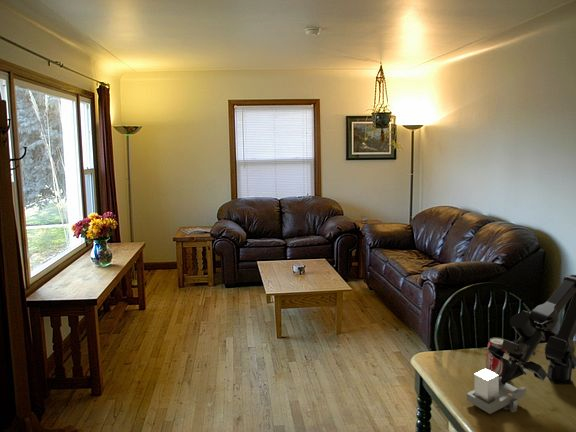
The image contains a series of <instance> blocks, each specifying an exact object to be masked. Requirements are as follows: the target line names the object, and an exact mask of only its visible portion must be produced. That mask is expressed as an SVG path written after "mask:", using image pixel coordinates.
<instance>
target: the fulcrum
mask: <svg viewBox="0 0 576 432" xmlns="http://www.w3.org/2000/svg"><path fill="white" fill-rule="evenodd" d="M518 400H519V399H512V400H511V403H510V404H508V405H506V406H504V407H502V408H501V409H504V410H506V411H510V412H511V413H512V414H513V413H515V412H517V411H518V402H519V401H518Z"/></svg>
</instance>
